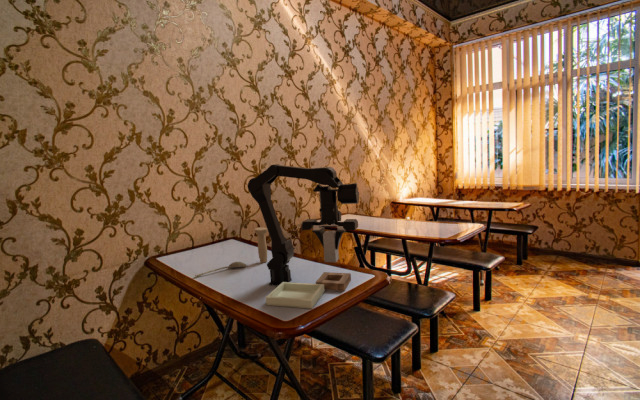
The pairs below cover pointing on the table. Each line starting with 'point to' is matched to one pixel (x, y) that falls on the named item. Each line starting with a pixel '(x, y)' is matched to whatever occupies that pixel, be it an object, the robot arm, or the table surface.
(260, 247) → the handle
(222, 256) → the table surface
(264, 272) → the table surface
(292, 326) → the table surface
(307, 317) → the table surface
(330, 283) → the holder
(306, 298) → the tray
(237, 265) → the soupspoon
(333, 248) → the grey rectangular block
